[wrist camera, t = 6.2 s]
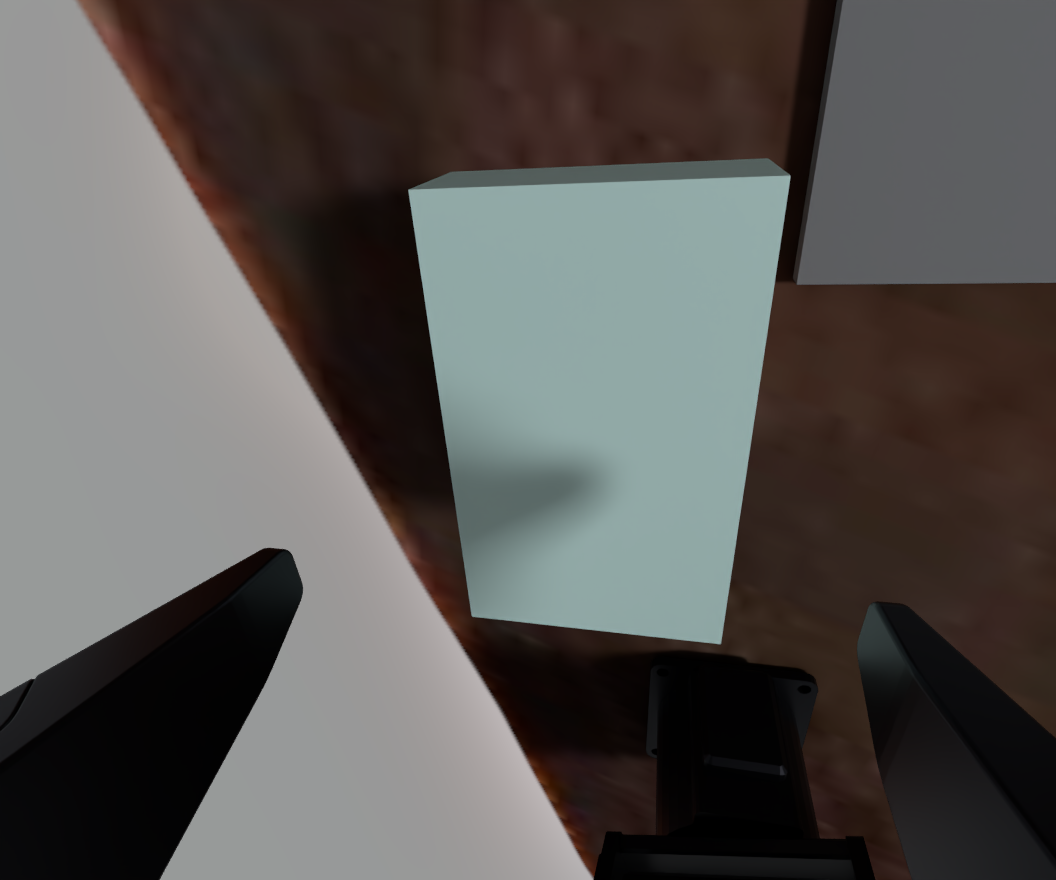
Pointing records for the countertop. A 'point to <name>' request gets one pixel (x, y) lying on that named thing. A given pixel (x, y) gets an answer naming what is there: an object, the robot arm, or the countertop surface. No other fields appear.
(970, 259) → the mat
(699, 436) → the pale teal block
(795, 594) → the countertop surface
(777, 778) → the robot arm
